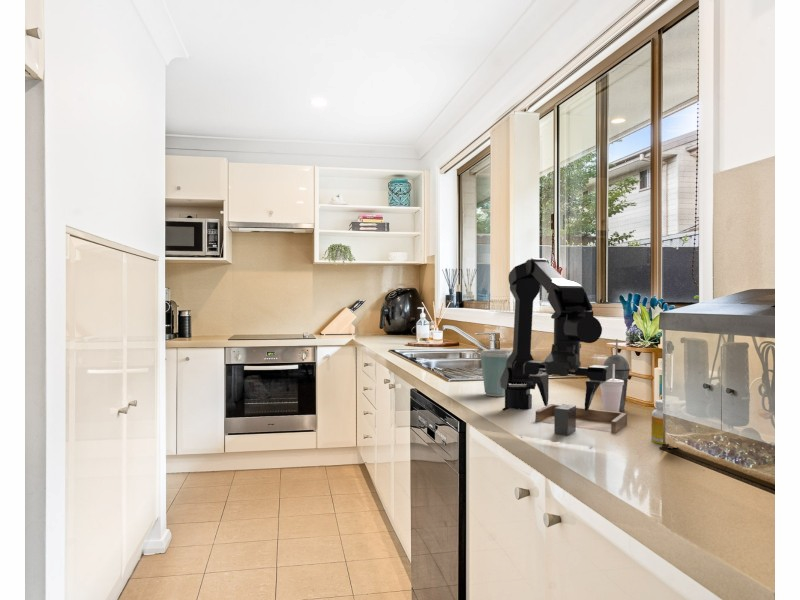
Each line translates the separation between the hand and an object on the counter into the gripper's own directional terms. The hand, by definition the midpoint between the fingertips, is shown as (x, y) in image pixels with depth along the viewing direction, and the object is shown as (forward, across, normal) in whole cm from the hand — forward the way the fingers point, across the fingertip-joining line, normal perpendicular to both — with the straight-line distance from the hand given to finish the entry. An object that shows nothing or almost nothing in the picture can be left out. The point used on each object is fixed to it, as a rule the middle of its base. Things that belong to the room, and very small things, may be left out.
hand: (565, 408), depth 125 cm
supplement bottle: (+7, +20, +5) cm, 22 cm away
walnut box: (+6, 0, +12) cm, 14 cm away
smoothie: (+7, +3, +30) cm, 31 cm away
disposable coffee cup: (+7, -35, +40) cm, 54 cm away
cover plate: (+7, 0, 0) cm, 7 cm away
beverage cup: (+7, +2, +40) cm, 41 cm away
